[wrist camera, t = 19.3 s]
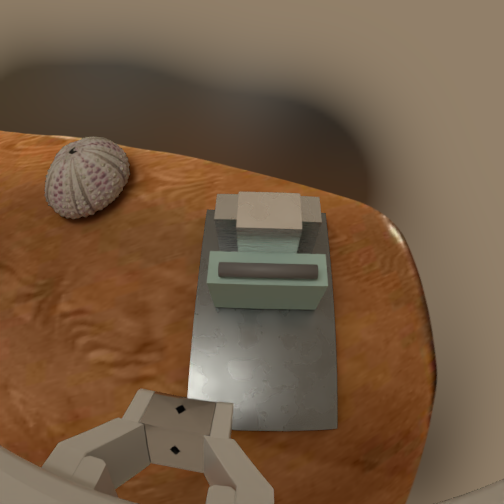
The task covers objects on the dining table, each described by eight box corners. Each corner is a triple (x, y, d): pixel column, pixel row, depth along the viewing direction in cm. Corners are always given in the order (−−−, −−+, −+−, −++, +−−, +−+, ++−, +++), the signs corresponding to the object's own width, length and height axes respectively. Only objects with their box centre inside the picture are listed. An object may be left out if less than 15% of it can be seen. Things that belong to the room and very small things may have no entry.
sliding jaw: (315, 309, 31) (331, 280, 25) (214, 307, 31) (204, 276, 25) (314, 282, 32) (328, 247, 26) (216, 279, 33) (208, 244, 26)
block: (289, 282, 33) (302, 229, 24) (240, 281, 33) (236, 227, 24) (288, 252, 34) (299, 193, 26) (242, 251, 34) (238, 191, 26)
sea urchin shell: (40, 213, 40) (14, 180, 33) (89, 150, 46) (72, 114, 39) (101, 238, 37) (74, 200, 30) (151, 163, 44) (138, 121, 37)
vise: (333, 428, 27) (357, 431, 20) (188, 425, 27) (169, 428, 20) (323, 220, 38) (335, 179, 32) (208, 217, 39) (200, 175, 32)
